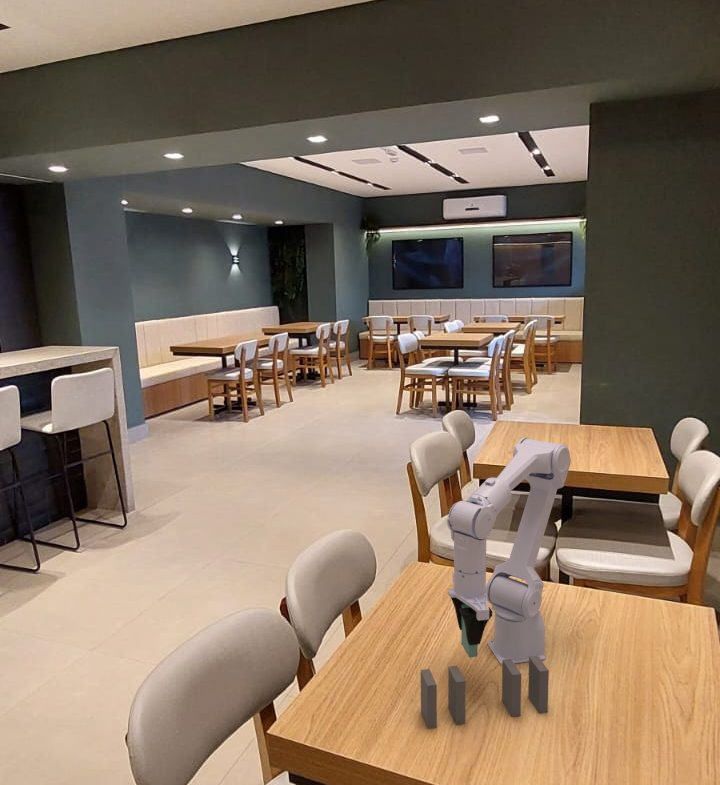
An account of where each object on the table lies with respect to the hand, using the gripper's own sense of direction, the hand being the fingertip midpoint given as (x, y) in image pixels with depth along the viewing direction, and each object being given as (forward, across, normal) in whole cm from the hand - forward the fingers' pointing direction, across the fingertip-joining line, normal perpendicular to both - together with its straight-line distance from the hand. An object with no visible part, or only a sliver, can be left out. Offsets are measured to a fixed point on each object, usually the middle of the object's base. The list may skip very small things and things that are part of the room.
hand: (469, 636), depth 113 cm
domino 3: (+10, +8, +5) cm, 13 cm away
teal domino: (+3, 0, 0) cm, 3 cm away
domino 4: (+10, +8, +10) cm, 16 cm away
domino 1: (+10, +8, -10) cm, 16 cm away
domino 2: (+10, +8, -5) cm, 13 cm away
